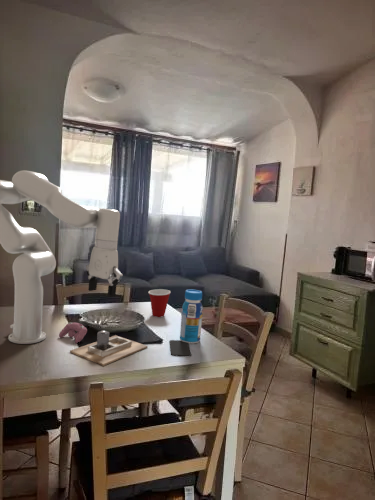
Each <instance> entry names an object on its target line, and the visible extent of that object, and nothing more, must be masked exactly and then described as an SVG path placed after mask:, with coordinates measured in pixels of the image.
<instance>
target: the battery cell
mask: <svg viewBox="0 0 375 500" xmlns="http://www.w3.org/2000/svg"><path fill="white" fill-rule="evenodd" d="M96 335H97V336H96V342H97V349H99V350H102V351H104V350H107V349H108V348H109V337H110V332H109V331H107V330H100V331H98V332H97V334H96Z"/></svg>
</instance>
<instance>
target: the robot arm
mask: <svg viewBox="0 0 375 500" xmlns="http://www.w3.org/2000/svg"><path fill="white" fill-rule="evenodd" d="M62 191H63V190H62V189H61V187H60V186H58V185H56V184H54V183H52V182H50V181H49V179H48V178H47V177H46V176H45V175H44V174H42V173H40V172H36V171H32V170H26V169H25V170H18V171H17V172H16V173H14V174H13V176H12V178H11V181H10V180H5V179H0V245H1V247H2V249H3V250H4V251H5V252H6V253H8V254H15V255H16V254H19V255H18V256H17V257H16V258H15V259H14V261H13V263H12V275H13V281H14V302H13V303H14V305H13V323H12V324H10V325H9V328H10V329H12V333H10V334H9V335H8V341H9V342H10V343H13V344H20V345H28V344H37V343H39V342H42V341H44V340H45V339H46V338H47V333H46V332H44V331H42V329H43V307H44V306H43V305H44V303H43V302H44V285H43V282H42V279H41V277H44V276H47V275H49V274H52V273H53V272H54V271H55V269H56V266H57V260H56V257H55V255H54V253H53V251H52V250H51V248H50V247H49V245H48V243H47V242H46V241H45V239H44V238H43V236H42V235H41V234H40V233H39V231H37V229H34V228H33V227H29V226H20V224H19V223H18V222H17V221H16V219H15V218H14V215H13V214H12V213H11V212H10V211H9V210H8V209H7V208H6V207H4V205H3V204H5V205H16V204H21V203H23V202H27V201H30V200H32V201H33V202H35V203H37V204H38V205H40V206H42V207H44V208H45V209H47V210H48V212H49V213H51V215H53V216H54V217H56V218H57V219H58V220H60V221H62V222H64V223H66V224H67V225H68V226H71V227H74V228H76V229H88V228H89V229H90V228H96V229H95V238H94V239H95V240H94V246H93V248H92V250H91V254H90V259H89V263H88V264H87V265H85V269H86V275H87V279H88V280H89V281H88V288H87V289H88V291H89V292H93V291H96V290H97V287H98V286H97V285H98V279H102V280H107V282H108V283H109V285H108V286H107V287H108V288H107V297H108V298H113V297H116V293H117V286H119V284H120V282H122V281H121V280H122V279H123V276H124V275H123V273H121V271H120V269H119V252H118V241H119V230H120V220H121V213H120V211H119V210H117V209H111V208H100V207H96V206H92V205H82V204H81V205H80V204H78V203H77V202H75V201H73V200H71V199H69V198H68V197H66V196H64V195H63V192H62ZM21 253H22V254H21Z"/></svg>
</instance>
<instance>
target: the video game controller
mask: <svg viewBox="0 0 375 500" xmlns="http://www.w3.org/2000/svg"><path fill="white" fill-rule="evenodd" d="M87 333H88V329H87V327H85V326H84V325H83V324H82V323H80V322H74V321H73V322H68V323H67V324H65V326H64V327H63V328H62V329H61V331H60V332H59V335H58V337H59V338H60V339H61V338H64V337H66V335H68V337H69V338H74V339H75V340H74V342H75V344H78V342H79V343H80V342H81V341H82V340H83V339H84V337H85V336H86V335H87Z"/></svg>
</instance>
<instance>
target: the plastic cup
mask: <svg viewBox="0 0 375 500" xmlns="http://www.w3.org/2000/svg"><path fill="white" fill-rule="evenodd" d="M148 294H149V298H150V307H151V315H152V317H157V318H162V317H165V314H166V311H167V307H168V303H169V299H170V294H171V290H168V289H163V288H159V289H158V288H157V289H151V290H149V291H148Z"/></svg>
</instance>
